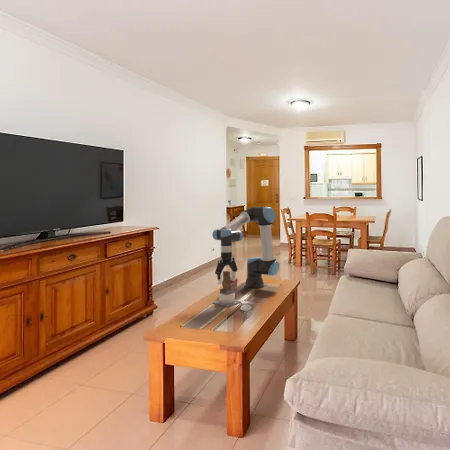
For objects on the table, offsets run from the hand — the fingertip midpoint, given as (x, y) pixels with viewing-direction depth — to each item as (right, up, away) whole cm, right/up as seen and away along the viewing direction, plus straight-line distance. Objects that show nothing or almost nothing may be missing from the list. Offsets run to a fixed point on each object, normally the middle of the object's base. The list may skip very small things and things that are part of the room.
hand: (226, 282), depth 289 cm
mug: (+2, -13, +20) cm, 24 cm away
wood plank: (0, -7, +1) cm, 8 cm away
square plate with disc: (0, -14, +1) cm, 14 cm away
